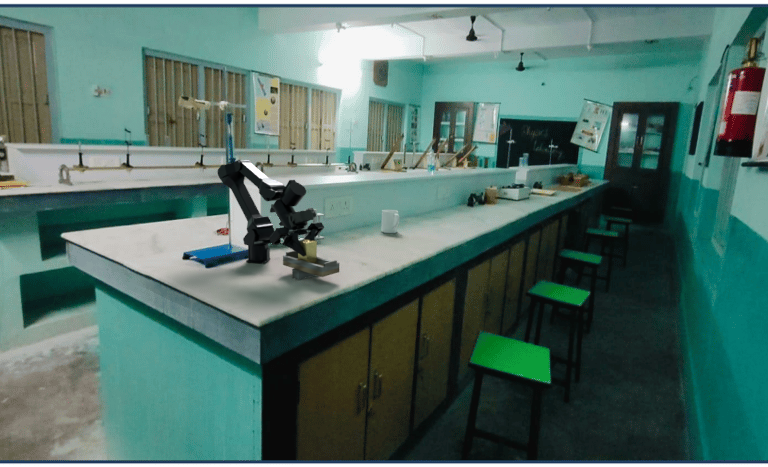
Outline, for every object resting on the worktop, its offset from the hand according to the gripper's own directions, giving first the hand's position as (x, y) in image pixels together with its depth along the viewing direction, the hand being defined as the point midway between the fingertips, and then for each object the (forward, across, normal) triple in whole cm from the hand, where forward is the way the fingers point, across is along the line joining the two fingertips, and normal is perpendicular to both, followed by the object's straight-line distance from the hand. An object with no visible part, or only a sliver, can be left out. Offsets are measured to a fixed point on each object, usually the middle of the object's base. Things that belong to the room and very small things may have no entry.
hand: (310, 254), depth 140 cm
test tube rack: (-24, +31, +36) cm, 53 cm away
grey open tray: (+6, 0, +5) cm, 8 cm away
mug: (-13, +78, +24) cm, 82 cm away
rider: (+1, 0, +3) cm, 3 cm away
